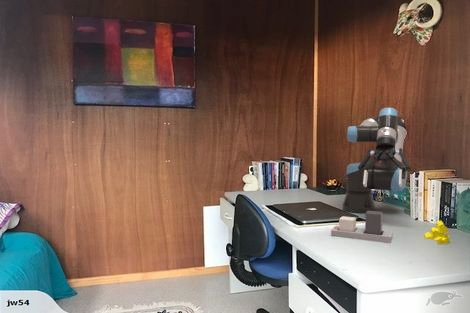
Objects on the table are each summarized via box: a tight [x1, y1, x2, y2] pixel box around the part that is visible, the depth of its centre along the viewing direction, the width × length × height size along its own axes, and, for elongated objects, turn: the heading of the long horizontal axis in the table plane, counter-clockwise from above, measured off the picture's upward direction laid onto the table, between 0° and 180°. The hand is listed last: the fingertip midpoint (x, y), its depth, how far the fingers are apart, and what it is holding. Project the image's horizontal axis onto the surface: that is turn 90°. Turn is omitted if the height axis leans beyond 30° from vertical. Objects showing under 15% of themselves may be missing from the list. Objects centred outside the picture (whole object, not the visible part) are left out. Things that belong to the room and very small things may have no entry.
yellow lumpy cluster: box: [423, 219, 451, 245], centre depth 134 cm, size 6×8×8 cm
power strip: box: [330, 224, 394, 244], centre depth 137 cm, size 8×20×4 cm, turn 63°
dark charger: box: [364, 210, 383, 235], centre depth 135 cm, size 5×5×9 cm
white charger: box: [338, 216, 357, 232], centre depth 139 cm, size 5×5×6 cm
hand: (382, 185), depth 153 cm, fingers open, 13 cm apart
